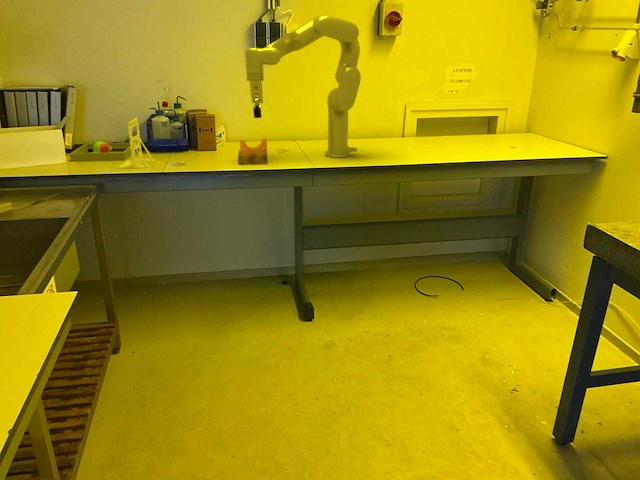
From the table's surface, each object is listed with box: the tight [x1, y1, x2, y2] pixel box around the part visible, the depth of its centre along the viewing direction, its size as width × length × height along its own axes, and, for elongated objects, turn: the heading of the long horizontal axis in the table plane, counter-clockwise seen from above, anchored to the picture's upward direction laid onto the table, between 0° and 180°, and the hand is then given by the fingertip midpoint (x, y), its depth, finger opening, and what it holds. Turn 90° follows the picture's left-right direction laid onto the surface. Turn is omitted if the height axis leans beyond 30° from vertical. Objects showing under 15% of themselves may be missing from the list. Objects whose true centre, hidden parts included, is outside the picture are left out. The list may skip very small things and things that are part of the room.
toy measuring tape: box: [92, 141, 113, 153], centre depth 245 cm, size 6×20×7 cm, turn 151°
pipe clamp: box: [239, 137, 268, 154], centre depth 237 cm, size 12×4×6 cm, turn 101°
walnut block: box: [237, 149, 268, 166], centre depth 239 cm, size 13×13×4 cm
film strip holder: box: [117, 117, 156, 169], centre depth 228 cm, size 14×14×20 cm
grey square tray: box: [69, 142, 132, 162], centre depth 248 cm, size 24×24×4 cm
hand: (257, 116), depth 237 cm, fingers open, 9 cm apart
